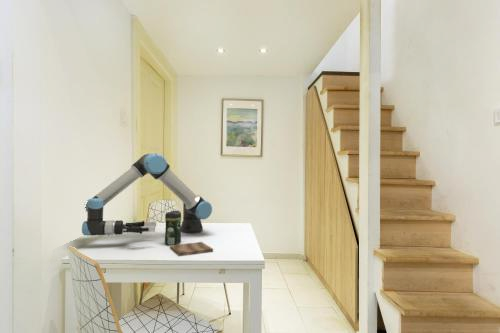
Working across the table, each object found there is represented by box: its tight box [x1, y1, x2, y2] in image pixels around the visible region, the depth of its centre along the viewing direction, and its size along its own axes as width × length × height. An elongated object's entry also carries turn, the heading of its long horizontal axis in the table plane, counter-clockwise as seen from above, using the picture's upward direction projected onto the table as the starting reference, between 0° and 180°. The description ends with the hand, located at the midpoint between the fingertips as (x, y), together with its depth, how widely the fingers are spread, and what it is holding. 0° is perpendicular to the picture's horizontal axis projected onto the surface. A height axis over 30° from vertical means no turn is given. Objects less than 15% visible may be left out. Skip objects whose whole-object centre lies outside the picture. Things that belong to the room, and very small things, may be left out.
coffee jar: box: [164, 210, 182, 246], centre depth 172 cm, size 10×8×19 cm
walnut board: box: [169, 241, 214, 257], centre depth 159 cm, size 18×16×2 cm
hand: (155, 226), depth 169 cm, fingers open, 13 cm apart
